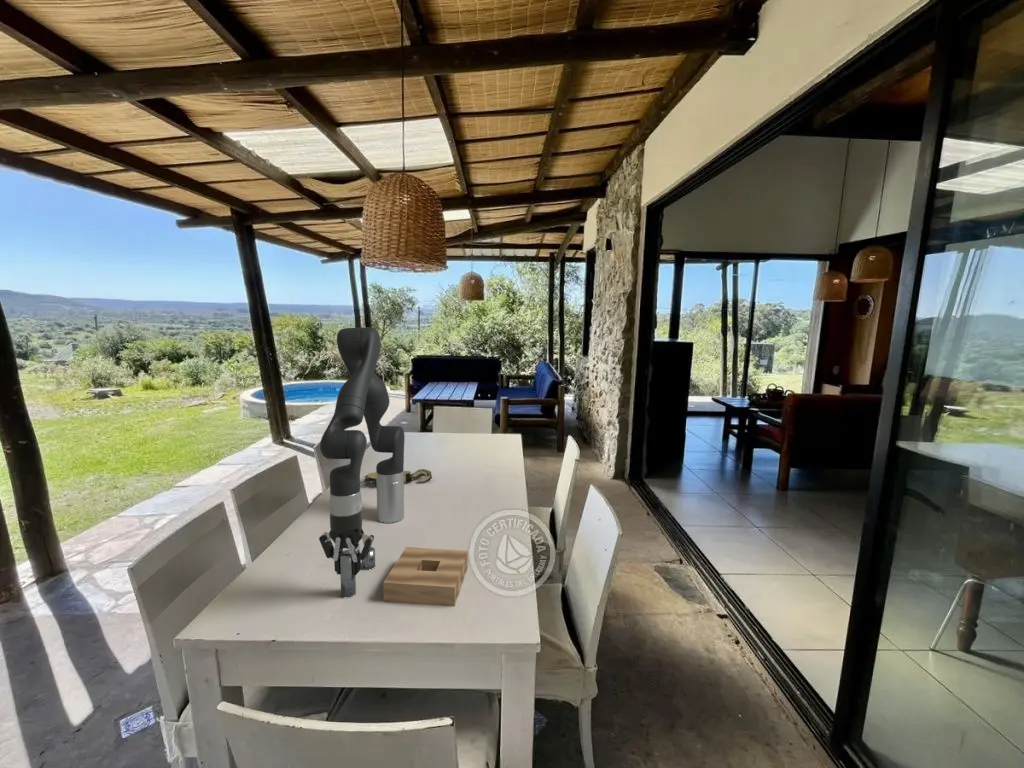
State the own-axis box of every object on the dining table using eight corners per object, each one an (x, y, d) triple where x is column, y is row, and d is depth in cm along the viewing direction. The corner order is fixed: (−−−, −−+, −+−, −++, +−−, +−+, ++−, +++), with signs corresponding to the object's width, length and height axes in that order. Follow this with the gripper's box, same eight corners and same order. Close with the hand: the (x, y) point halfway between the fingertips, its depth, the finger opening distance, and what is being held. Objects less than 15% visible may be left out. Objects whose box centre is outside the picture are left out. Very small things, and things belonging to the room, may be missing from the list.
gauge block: (406, 563, 130) (406, 547, 129) (467, 567, 129) (468, 550, 128) (383, 601, 112) (383, 582, 112) (454, 606, 111) (454, 587, 110)
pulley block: (432, 471, 191) (358, 475, 185) (432, 485, 191) (358, 489, 185) (431, 466, 205) (363, 469, 199) (431, 479, 205) (363, 482, 199)
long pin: (344, 589, 117) (343, 549, 115) (358, 590, 117) (357, 550, 115) (338, 597, 113) (337, 556, 112) (352, 598, 113) (351, 557, 112)
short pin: (365, 563, 130) (364, 546, 129) (377, 563, 129) (376, 547, 129) (359, 569, 126) (359, 553, 126) (372, 570, 126) (372, 553, 125)
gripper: (379, 504, 115) (380, 567, 117) (325, 501, 116) (328, 563, 119) (367, 516, 108) (369, 583, 110) (310, 513, 109) (313, 579, 111)
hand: (347, 572), depth 114 cm, fingers closed on long pin, 3 cm apart
